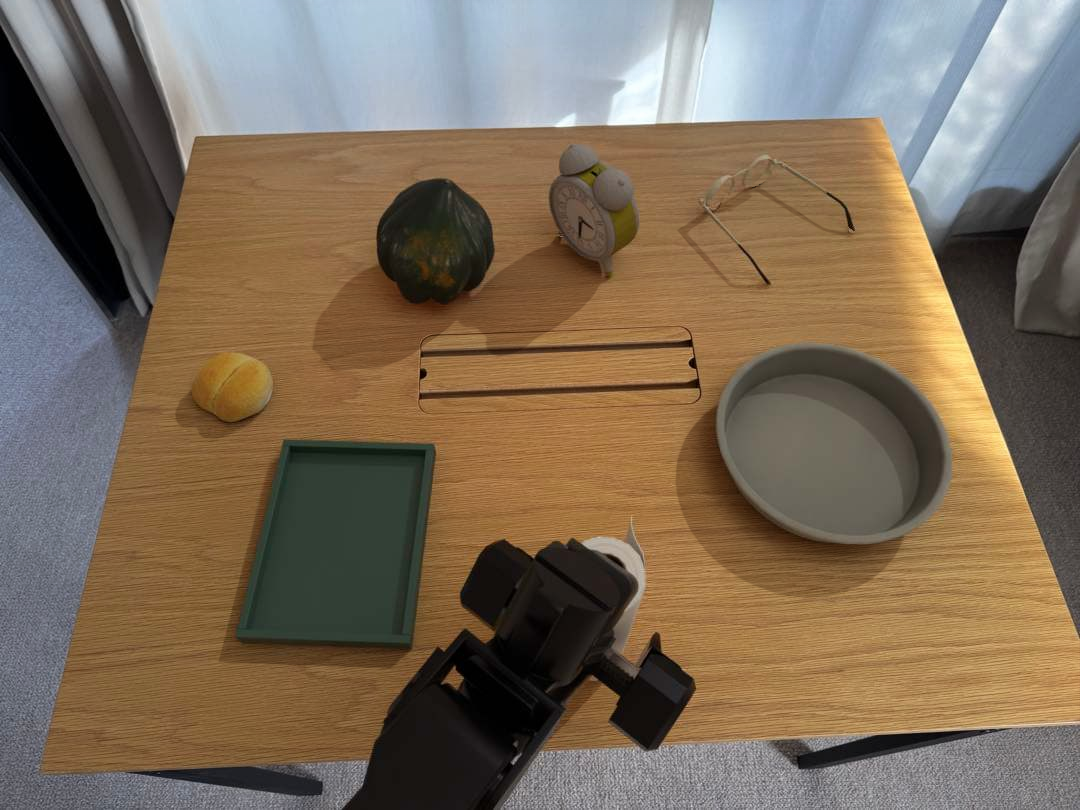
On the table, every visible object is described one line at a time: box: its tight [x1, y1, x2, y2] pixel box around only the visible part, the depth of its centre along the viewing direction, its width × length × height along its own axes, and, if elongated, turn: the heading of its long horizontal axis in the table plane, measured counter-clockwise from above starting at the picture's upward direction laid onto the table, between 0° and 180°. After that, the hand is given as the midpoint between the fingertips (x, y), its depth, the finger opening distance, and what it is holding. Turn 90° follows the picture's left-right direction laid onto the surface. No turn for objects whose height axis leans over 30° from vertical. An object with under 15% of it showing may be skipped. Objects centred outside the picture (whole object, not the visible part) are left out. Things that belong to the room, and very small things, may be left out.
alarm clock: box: [548, 143, 640, 278], centre depth 95 cm, size 12×7×15 cm, turn 41°
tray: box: [234, 439, 437, 650], centre depth 79 cm, size 22×17×2 cm
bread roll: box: [191, 351, 274, 423], centre depth 88 cm, size 8×9×4 cm
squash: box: [375, 177, 496, 306], centre depth 94 cm, size 14×15×15 cm
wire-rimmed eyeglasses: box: [697, 154, 856, 286], centre depth 102 cm, size 17×15×5 cm
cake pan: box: [715, 342, 953, 545], centre depth 83 cm, size 25×25×4 cm
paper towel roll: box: [580, 515, 647, 682], centre depth 65 cm, size 7×6×21 cm
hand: (610, 604), depth 66 cm, fingers open, 9 cm apart
